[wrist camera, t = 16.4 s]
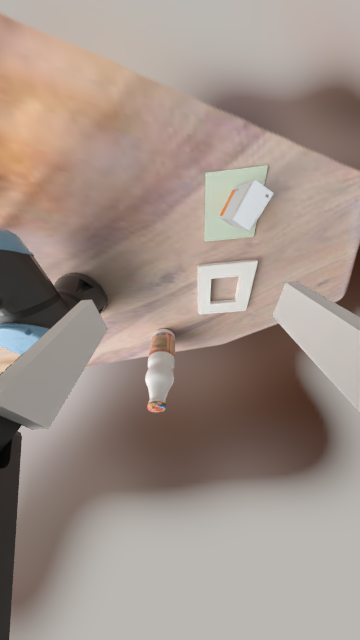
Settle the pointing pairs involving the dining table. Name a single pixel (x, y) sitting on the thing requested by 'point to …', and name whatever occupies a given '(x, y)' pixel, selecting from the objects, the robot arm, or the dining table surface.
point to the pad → (217, 195)
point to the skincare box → (246, 204)
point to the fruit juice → (160, 368)
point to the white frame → (224, 270)
